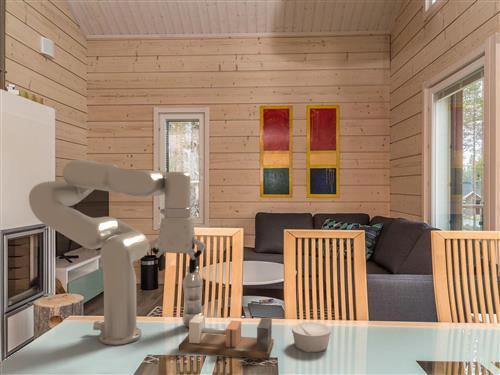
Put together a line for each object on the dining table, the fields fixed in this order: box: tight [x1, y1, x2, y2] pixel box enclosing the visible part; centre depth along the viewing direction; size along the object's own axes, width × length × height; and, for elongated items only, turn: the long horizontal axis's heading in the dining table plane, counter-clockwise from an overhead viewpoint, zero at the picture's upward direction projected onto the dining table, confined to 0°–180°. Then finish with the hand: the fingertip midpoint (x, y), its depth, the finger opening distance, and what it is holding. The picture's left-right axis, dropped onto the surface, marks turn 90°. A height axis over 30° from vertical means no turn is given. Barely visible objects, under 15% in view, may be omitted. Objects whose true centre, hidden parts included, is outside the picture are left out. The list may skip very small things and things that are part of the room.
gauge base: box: [178, 317, 275, 360], centre depth 121 cm, size 26×10×8 cm, turn 80°
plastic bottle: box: [182, 265, 204, 328], centre depth 137 cm, size 6×7×20 cm
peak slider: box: [225, 319, 242, 349], centre depth 120 cm, size 3×8×5 cm, turn 170°
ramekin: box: [291, 321, 332, 353], centre depth 122 cm, size 11×11×5 cm
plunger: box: [188, 315, 226, 343], centre depth 122 cm, size 10×6×6 cm, turn 80°
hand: (177, 271), depth 123 cm, fingers open, 9 cm apart
